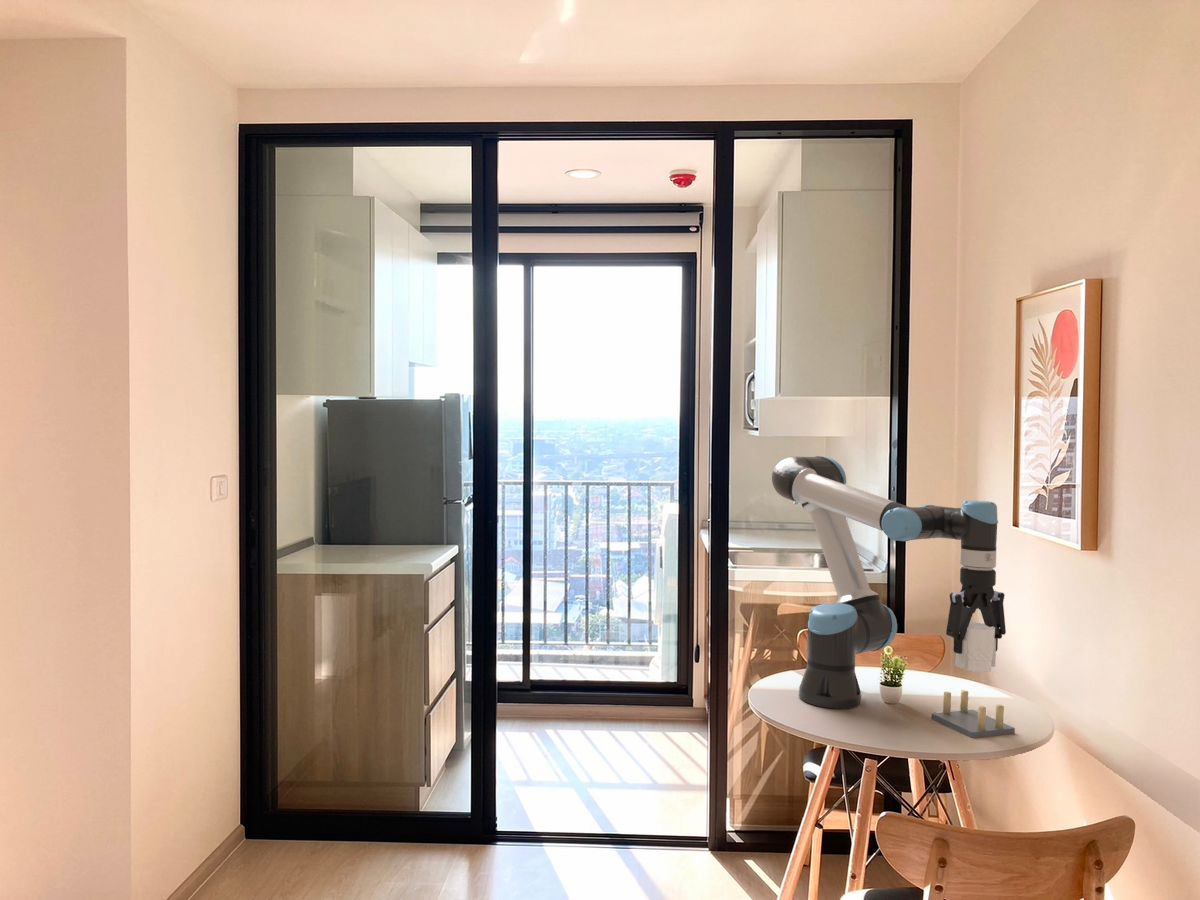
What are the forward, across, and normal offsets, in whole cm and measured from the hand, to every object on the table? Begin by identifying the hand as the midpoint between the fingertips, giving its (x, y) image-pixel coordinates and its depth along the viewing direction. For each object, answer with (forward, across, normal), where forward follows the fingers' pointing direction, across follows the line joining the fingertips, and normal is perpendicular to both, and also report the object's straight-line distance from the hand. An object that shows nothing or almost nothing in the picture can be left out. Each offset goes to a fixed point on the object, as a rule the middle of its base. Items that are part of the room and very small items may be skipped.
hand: (975, 666), depth 192 cm
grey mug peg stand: (+14, 0, 0) cm, 14 cm away
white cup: (+1, 0, 0) cm, 1 cm away
